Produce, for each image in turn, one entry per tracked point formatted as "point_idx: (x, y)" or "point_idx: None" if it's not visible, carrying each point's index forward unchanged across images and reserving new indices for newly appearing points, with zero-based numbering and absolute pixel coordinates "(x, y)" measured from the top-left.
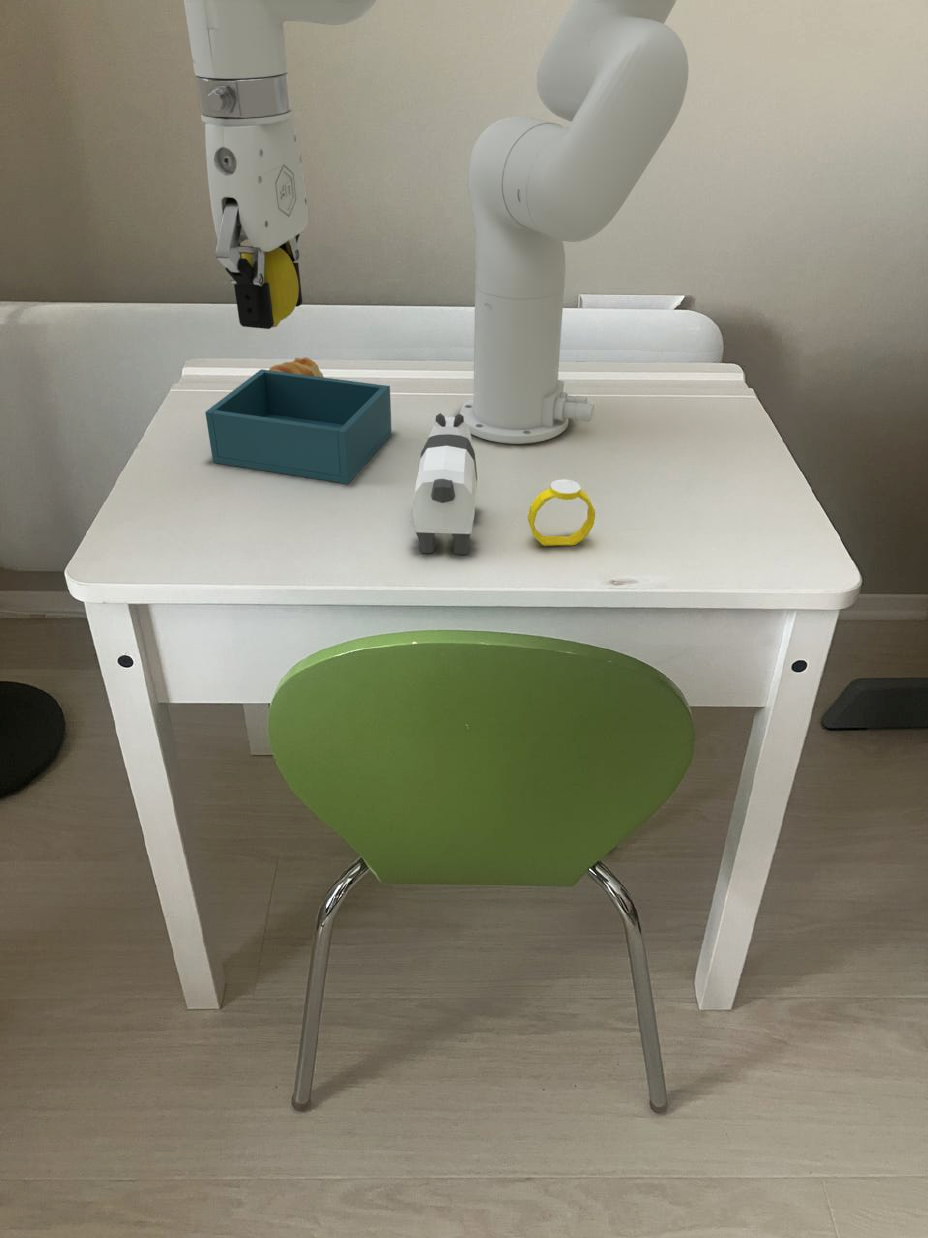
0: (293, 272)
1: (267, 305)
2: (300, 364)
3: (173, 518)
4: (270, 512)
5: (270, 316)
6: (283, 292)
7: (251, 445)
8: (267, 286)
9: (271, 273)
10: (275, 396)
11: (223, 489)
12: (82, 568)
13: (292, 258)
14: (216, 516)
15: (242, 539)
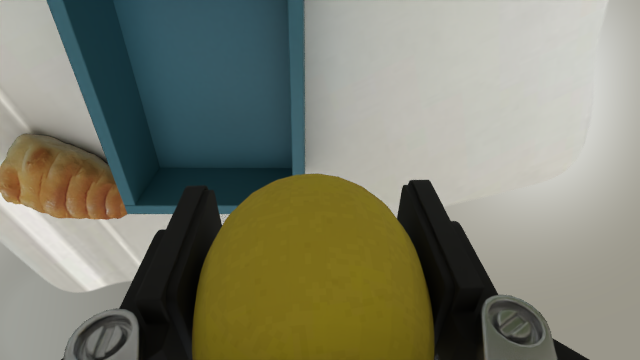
0: (299, 263)
1: (453, 228)
2: (22, 186)
3: (445, 147)
4: (416, 42)
5: (439, 199)
6: (385, 225)
7: (304, 133)
8: (471, 279)
9: (417, 318)
10: (146, 171)
11: (366, 128)
12: (553, 176)
13: (143, 331)
14: (435, 105)
15: (492, 46)
